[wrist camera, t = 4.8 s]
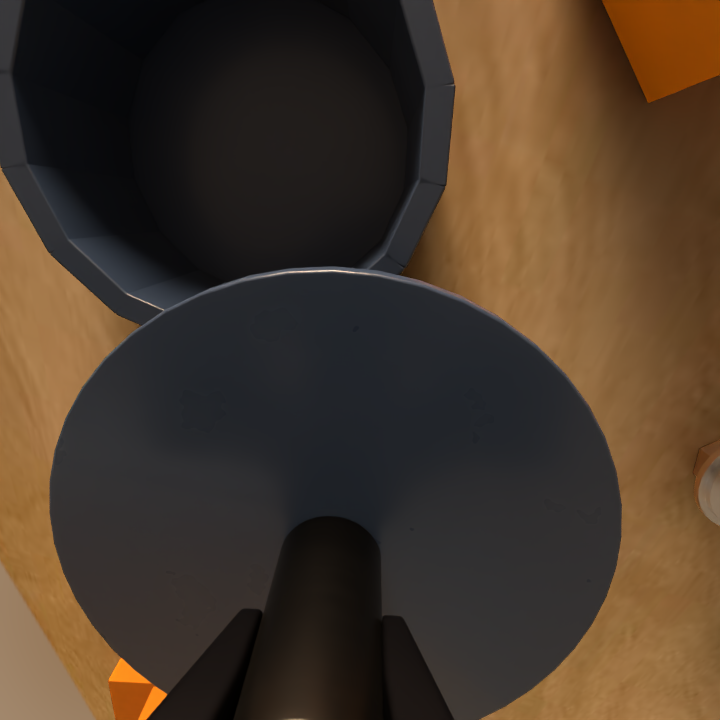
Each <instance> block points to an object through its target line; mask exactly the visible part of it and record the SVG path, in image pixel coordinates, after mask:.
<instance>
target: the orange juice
mask: <svg viewBox="0 0 720 720" xmlns="http://www.w3.org/2000/svg"><path fill="white" fill-rule="evenodd" d="M602 2H603V4H604V6H605V8H606V11H607V13H608V15H609V17H610V19H611V22H612V24H613V26H614V28H615V31H616V33H617V35H618V37H619V39H620V42H621V44H622V46H623V48H624V51H625V53H626V55H627V57H628V59H629V62H630V64H631V66H632V68H633V70H634V73H635V75H636V77H637V79H638V82H639V84H640V86H641V88H642V90H643V93H644V95H645V97H646V99H647V102H648V103H650V102H652V101H655V100H657V99H660V98H662V97H665V96H667V95H670V94H672V93H675V92H677V91H680V90H682V89H685V88H688V87H690V86H693V85H695V84H698V83H700V82H703V81H705V80H708V79H710V78H713V77H715V76H718V75H720V0H602Z"/></svg>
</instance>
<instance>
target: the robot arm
mask: <svg viewBox="0 0 720 720" xmlns="http://www.w3.org/2000/svg"><path fill="white" fill-rule="evenodd" d="M262 615H263V613H262V611H261V610H260V609H247V608H245V609H242V610H240V611H239V612H238V613H237V614H236V616H235V617H234V618H233V619H232V620H231V621H230V623H229V624H228V625H227V626H226V627H225V628H224V630H223V631H222V632H221V633H220V634H219V635H218V637H217V638H216V639H215V640H214V641H213V642H212V644H211V645H210V646H209V647H208V648H207V649H206V650H205V652H204V653H203V654H202V655H201V656H200V657H199V659H198V660H197V661H196V662H195V663H194V664H193V666H192V667H191V668H190V669H189V670H188V671H187V673H186V674H185V675H184V676H183V677H182V678H181V680H180V681H179V682H178V683H177V684H176V685H175V687H174V688H173V689H172V690H171V691H170V692H169V693H168V695H167V696H166V697H165V698H164V699H163V700H162V702H161V703H160V704H159V705H158V706H157V707H156V709H155V710H154V711H153V712H152V713H151V714H150V716H149V717H148V718H147V719H146V720H233V719H234V715H235V712H236V708H237V705H238V701H239V698H240V694H241V690H242V687H243V683H244V680H245V676H246V673H247V669H248V665H249V662H250V658H251V655H252V651H253V648H254V644H255V640H256V637H257V633H258V630H259V626H260V623H261V619H262ZM381 624H382V687H383V714H384V720H454V718H453V716H452V714H451V712H450V710H449V708H448V706H447V704H446V702H445V700H444V698H443V696H442V694H441V692H440V690H439V688H438V686H437V684H436V682H435V680H434V678H433V676H432V674H431V672H430V670H429V668H428V666H427V664H426V662H425V660H424V658H423V656H422V654H421V652H420V650H419V648H418V646H417V644H416V642H415V640H414V638H413V636H412V634H411V632H410V630H409V628H408V626H407V624H406V622H405V620H404V619H403V617H401V616H393V615H384V616H383V617H382V623H381Z"/></svg>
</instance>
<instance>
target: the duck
mask: <svg viewBox="0 0 720 720" xmlns="http://www.w3.org/2000/svg"><path fill="white" fill-rule="evenodd" d="M108 683H109V688H110V693H111V699H112V704H113V709H114V714H115V719H116V720H146V719H147V718H148V717H149V716H150V714H151V713H152V712H153V711H154V710H155V709H156V707H157V706H158V705H159V704H160V703H161V702H162V700H163V699H164V698H165V697H166V696H167V695H168V694H166V693H165V692H163V691H162V690H160V689H158V688H157V687H156V686H154V685H153V684H152V683H150V682H149V681H148V680H147V679H145V678H144V677H143V676H141V675H140V674H139V673H138V672H136V671H135V670H134V669H133V668H132V667H131V666H130V665H128V664H127V663H126V662H125V661H124V660H123V659H122V658H121V659H120V661H119V662H118V664H117V666H116V668H115V669H114V671H113V673H112V675H111V676H110V678H109V680H108Z"/></svg>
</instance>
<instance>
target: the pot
mask: <svg viewBox="0 0 720 720" xmlns="http://www.w3.org/2000/svg"><path fill="white" fill-rule="evenodd" d="M454 96H455V85H454V78H453V74H452V71H451V67H450V63H449V59H448V56H447V52H446V48H445V44H444V41H443V37H442V33H441V29H440V26H439V22H438V18H437V14H436V11H435V7H434V3H433V0H0V165H1V168H2V171H3V173H4V175H5V176H6V178H7V180H8V182H9V184H10V185H11V187H12V189H13V191H14V192H15V194H16V196H17V198H18V199H19V201H20V203H21V205H22V206H23V208H24V210H25V212H26V213H27V215H28V217H29V219H30V221H31V222H32V224H33V226H34V228H35V229H36V231H37V233H38V235H39V236H40V238H41V240H42V242H43V243H44V245H45V247H46V249H47V251H48V252H49V253H51V255H52V256H53V257H54V258H55V259H56V260H57V261H58V262H59V263H60V264H61V265H62V266H64V267H65V268H66V269H67V270H68V271H69V272H70V273H71V274H72V275H73V276H75V277H76V278H77V279H78V280H79V281H80V282H81V283H82V284H83V285H84V286H86V287H87V288H88V289H89V290H90V291H91V292H92V293H93V294H94V295H95V296H97V297H98V298H99V299H100V300H101V301H102V302H103V303H104V304H105V305H106V306H107V307H109V308H110V309H111V310H112V311H113V312H114V313H117V315H119V316H121V317H123V318H125V319H128V320H130V321H132V322H135V323H137V324H139V325H144V324H145V323H146V322H148V321H149V320H151V319H152V318H154V317H155V316H157V315H158V314H160V313H161V312H163V311H164V310H166V309H168V308H170V307H172V306H174V305H176V304H178V303H180V302H182V301H184V300H186V299H188V298H190V297H192V296H194V295H196V294H199V293H201V292H203V291H205V290H207V289H209V288H212V287H215V286H218V285H221V284H224V283H227V282H231V281H234V280H237V279H240V278H243V277H246V276H249V275H255V274H260V273H266V272H272V271H278V270H283V269H289V268H307V267H333V266H336V267H346V268H356V269H367V270H377V271H382V272H387V273H391V274H395V275H400V274H401V273H402V272H403V271H404V268H406V267H407V266H408V264H409V262H410V260H411V257H412V255H413V253H414V251H415V249H416V247H417V245H418V243H419V241H420V239H421V237H422V235H423V233H424V231H425V229H426V227H427V225H428V223H429V221H430V218H431V216H432V214H433V212H434V210H435V208H436V206H437V204H438V202H439V200H440V198H441V196H442V194H443V192H444V190H445V187H444V186H446V182H447V171H448V161H449V150H450V139H451V128H452V117H453V106H454Z"/></svg>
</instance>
